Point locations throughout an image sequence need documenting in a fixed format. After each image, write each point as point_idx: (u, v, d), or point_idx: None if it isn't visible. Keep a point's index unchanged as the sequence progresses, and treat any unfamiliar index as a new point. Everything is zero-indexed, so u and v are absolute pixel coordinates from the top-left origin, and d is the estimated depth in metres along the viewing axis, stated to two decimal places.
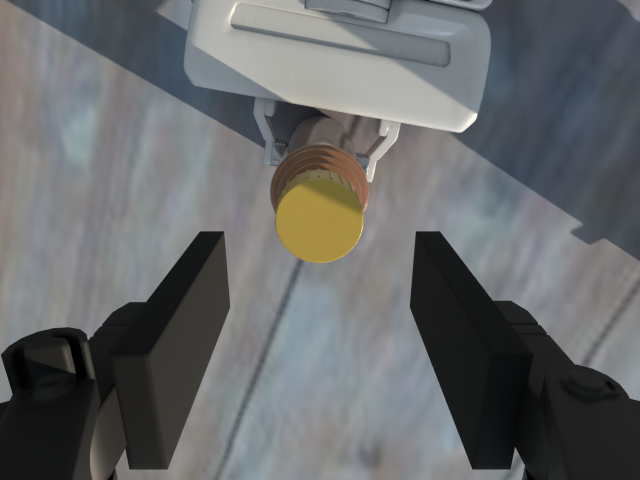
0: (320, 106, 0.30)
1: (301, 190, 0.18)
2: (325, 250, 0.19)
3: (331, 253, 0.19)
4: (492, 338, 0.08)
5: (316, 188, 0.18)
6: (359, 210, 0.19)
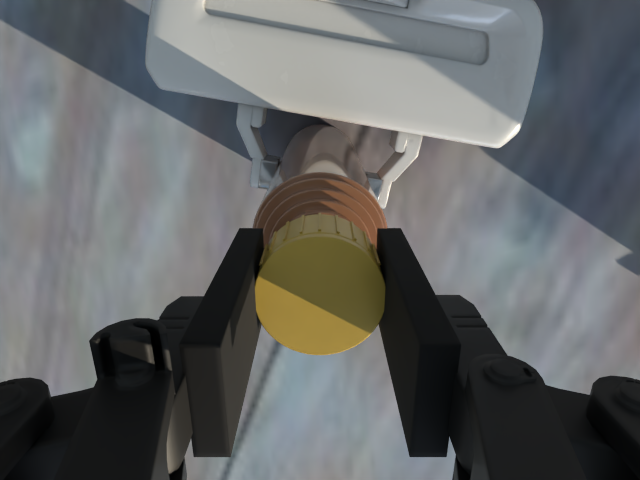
0: (321, 115, 0.23)
1: (292, 252, 0.12)
2: (329, 338, 0.13)
3: (338, 342, 0.13)
4: (425, 329, 0.09)
5: (315, 249, 0.12)
6: (381, 281, 0.12)
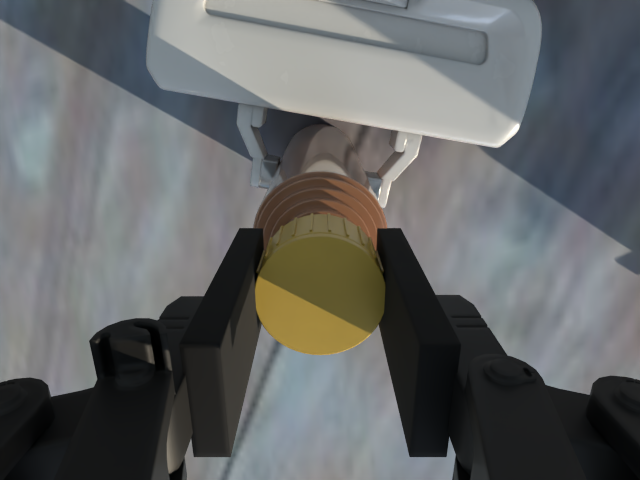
0: (321, 115, 0.23)
1: (277, 329, 0.13)
2: (363, 282, 0.12)
3: (367, 273, 0.12)
4: (425, 329, 0.09)
5: (269, 311, 0.13)
6: (288, 247, 0.12)
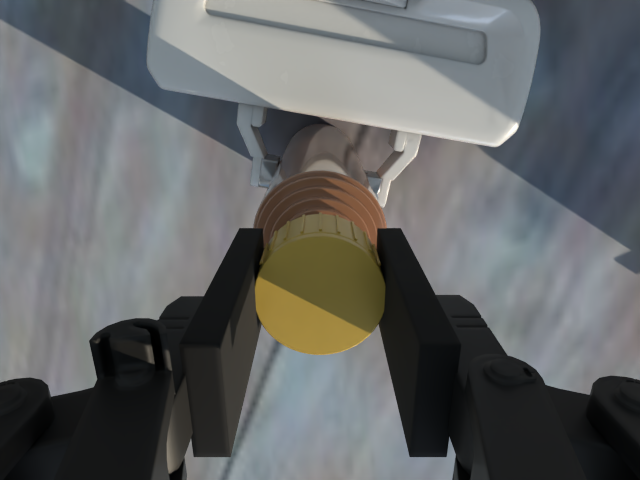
0: (320, 114, 0.24)
1: (362, 329, 0.13)
2: (292, 264, 0.12)
3: (281, 262, 0.12)
4: (425, 329, 0.09)
5: (343, 339, 0.13)
6: (273, 334, 0.13)
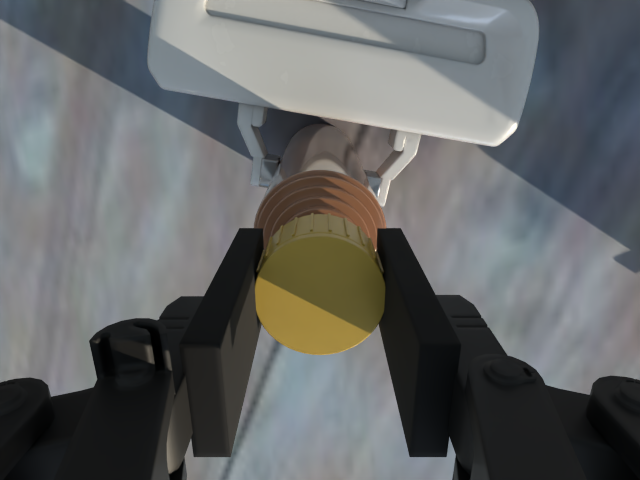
0: (320, 114, 0.24)
1: (347, 252, 0.12)
2: (288, 328, 0.13)
3: (289, 336, 0.13)
4: (425, 329, 0.09)
5: (362, 268, 0.12)
6: (368, 332, 0.13)
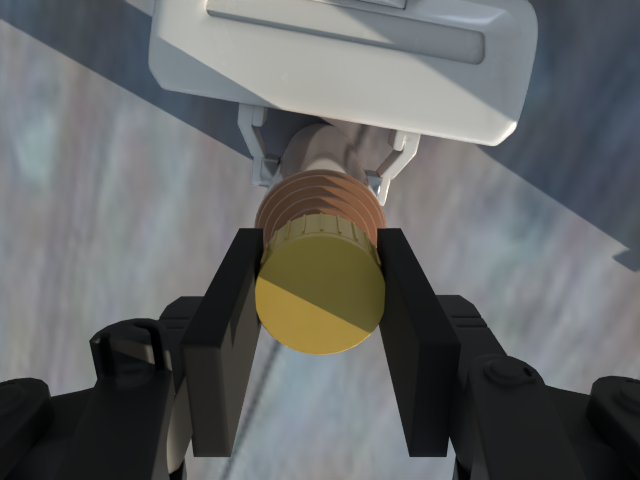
0: (321, 114, 0.24)
1: (265, 284, 0.12)
2: (358, 320, 0.13)
3: (368, 317, 0.13)
4: (425, 329, 0.09)
5: (278, 267, 0.12)
6: (350, 246, 0.12)
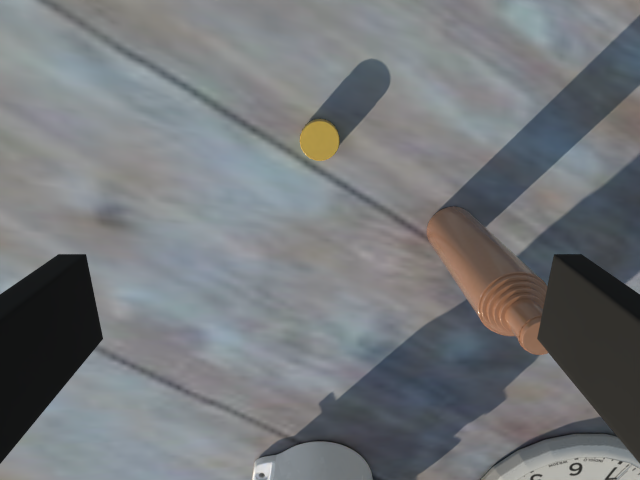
0: None
1: (303, 136, 0.42)
2: (331, 148, 0.43)
3: (334, 147, 0.43)
4: None
5: (307, 130, 0.42)
6: (328, 124, 0.42)
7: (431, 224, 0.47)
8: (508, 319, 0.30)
